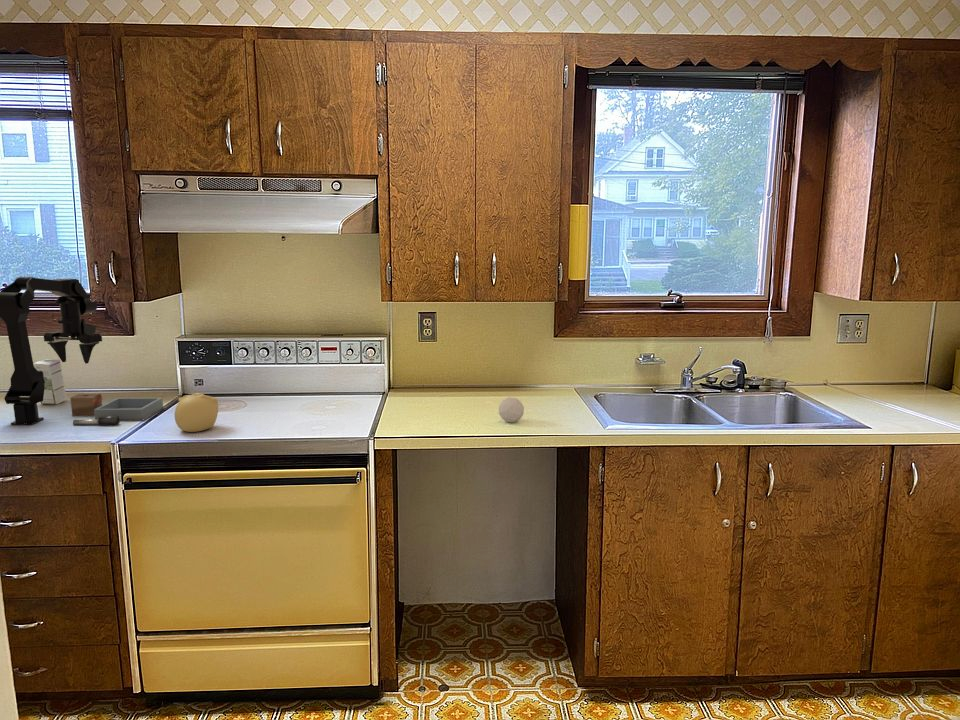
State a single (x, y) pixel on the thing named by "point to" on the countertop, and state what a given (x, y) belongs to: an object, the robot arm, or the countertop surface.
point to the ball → (511, 410)
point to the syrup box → (52, 381)
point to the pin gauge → (99, 421)
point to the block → (85, 404)
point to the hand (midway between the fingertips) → (75, 362)
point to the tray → (130, 408)
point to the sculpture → (196, 412)
